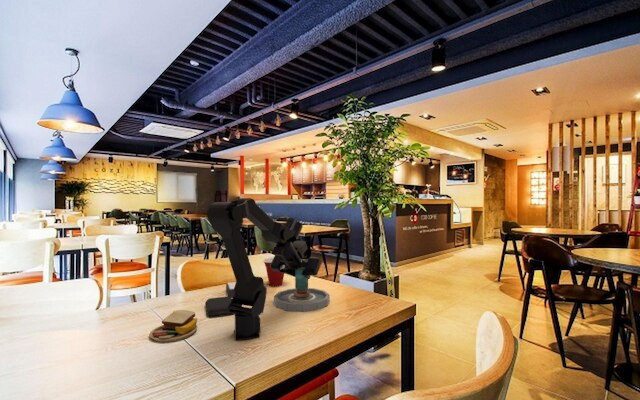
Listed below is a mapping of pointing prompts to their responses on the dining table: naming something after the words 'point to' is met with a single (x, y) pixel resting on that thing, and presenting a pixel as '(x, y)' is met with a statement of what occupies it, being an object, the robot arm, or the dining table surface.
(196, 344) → the dining table surface
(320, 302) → the round tray
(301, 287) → the bead spool
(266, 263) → the plastic cup
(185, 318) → the toy sandwich meal
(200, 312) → the dining table surface
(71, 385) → the dining table surface
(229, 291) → the calculator
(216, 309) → the carrying case or bag
